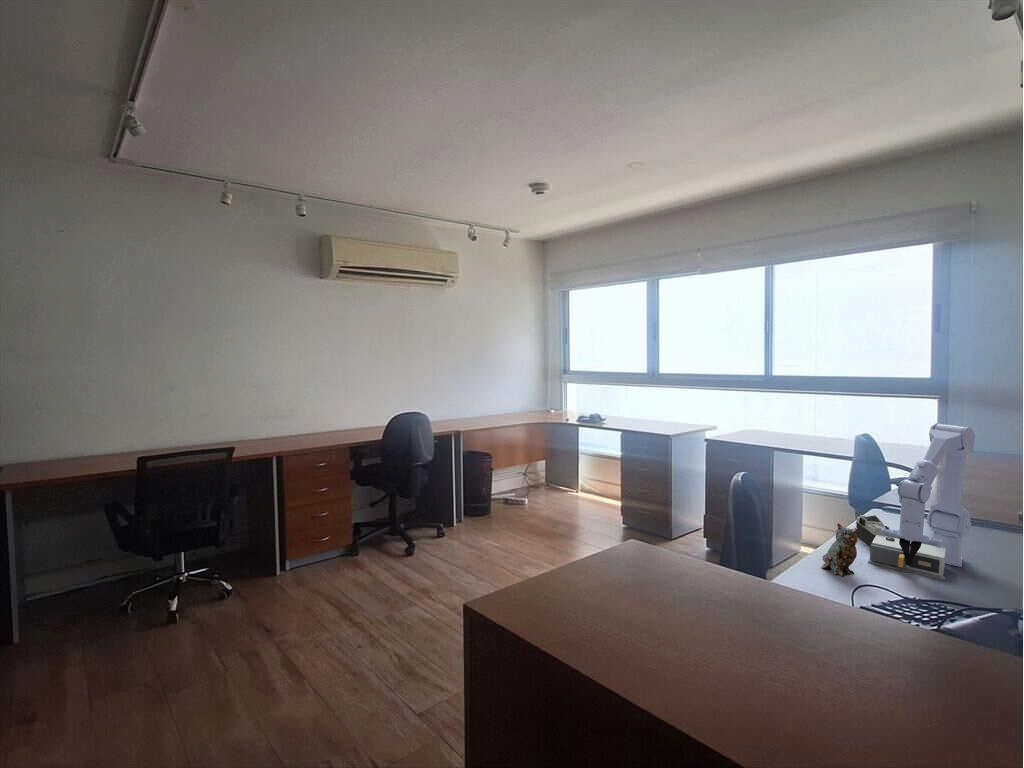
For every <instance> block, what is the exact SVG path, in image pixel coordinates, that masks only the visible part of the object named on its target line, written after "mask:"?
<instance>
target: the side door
mask: <svg viewBox="0 0 1024 768" xmlns="http://www.w3.org/2000/svg"><path fill="white" fill-rule="evenodd" d="M869 549H870V550H869V560H873V561H877V562H882V563H886V564H890V565H895V566H898V567H901V568H906V561H905V556H904V553H903V551H899V550H895V549H890V548H885V547H881V546H876V545H871V547H870V548H869Z"/></svg>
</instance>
